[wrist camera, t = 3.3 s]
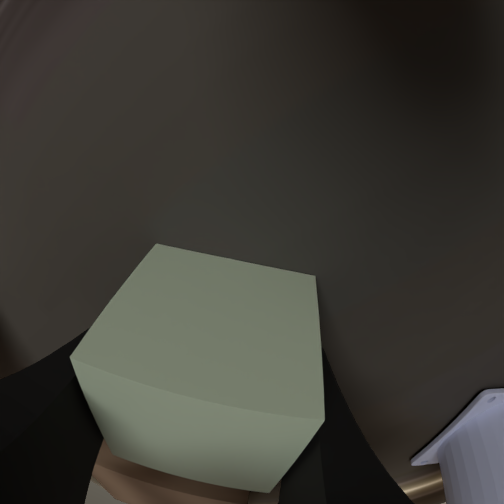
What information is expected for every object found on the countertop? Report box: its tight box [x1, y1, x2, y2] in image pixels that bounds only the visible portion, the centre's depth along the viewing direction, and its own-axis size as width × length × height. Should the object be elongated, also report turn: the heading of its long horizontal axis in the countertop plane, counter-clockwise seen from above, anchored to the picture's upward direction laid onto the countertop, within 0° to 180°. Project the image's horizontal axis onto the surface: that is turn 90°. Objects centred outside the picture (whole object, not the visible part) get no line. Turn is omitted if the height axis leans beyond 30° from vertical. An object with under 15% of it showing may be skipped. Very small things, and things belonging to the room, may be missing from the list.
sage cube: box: [70, 244, 325, 493], centre depth 8 cm, size 5×5×5 cm
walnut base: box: [92, 439, 249, 504], centre depth 16 cm, size 10×10×4 cm
